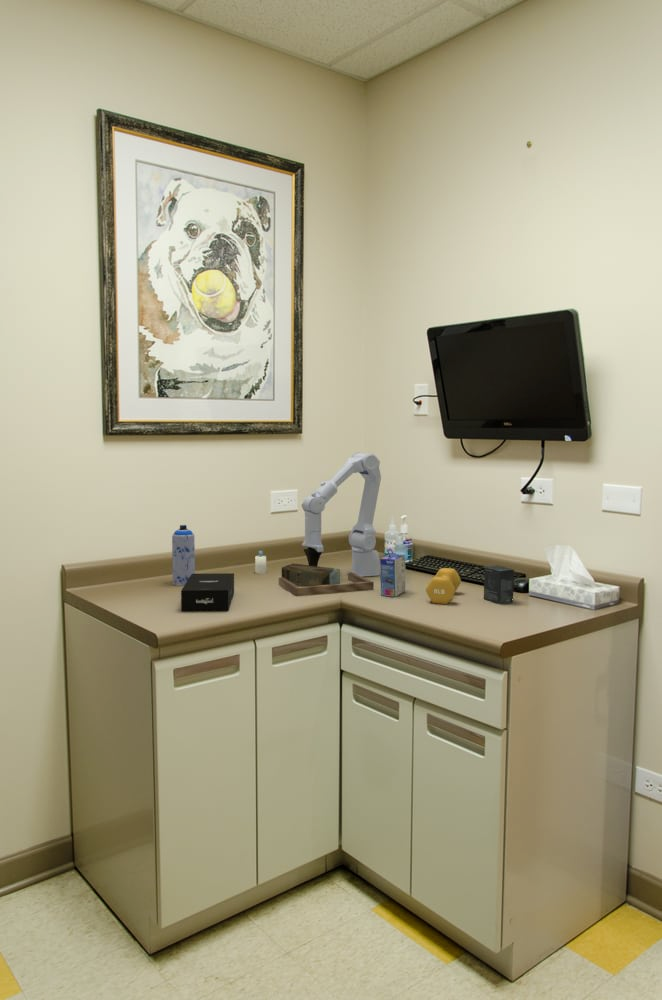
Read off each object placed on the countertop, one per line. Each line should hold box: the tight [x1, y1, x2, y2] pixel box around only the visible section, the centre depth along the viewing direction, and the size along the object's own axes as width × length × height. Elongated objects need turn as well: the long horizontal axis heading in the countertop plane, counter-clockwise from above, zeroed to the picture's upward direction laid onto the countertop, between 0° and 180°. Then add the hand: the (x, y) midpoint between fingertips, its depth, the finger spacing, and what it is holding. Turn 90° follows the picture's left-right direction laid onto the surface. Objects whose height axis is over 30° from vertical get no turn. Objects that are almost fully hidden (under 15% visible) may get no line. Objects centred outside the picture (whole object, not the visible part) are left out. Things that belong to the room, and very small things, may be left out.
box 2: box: [483, 564, 515, 605], centre depth 236 cm, size 8×6×11 cm
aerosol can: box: [171, 524, 196, 587], centre depth 259 cm, size 8×8×20 cm
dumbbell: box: [425, 567, 462, 605], centre depth 240 cm, size 19×9×8 cm, turn 163°
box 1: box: [180, 572, 235, 613], centre depth 234 cm, size 25×14×7 cm, turn 3°
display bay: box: [278, 571, 375, 597], centre depth 255 cm, size 27×18×2 cm, turn 112°
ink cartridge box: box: [379, 548, 406, 598], centre depth 246 cm, size 10×6×14 cm, turn 155°
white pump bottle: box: [254, 550, 267, 575], centre depth 279 cm, size 4×4×8 cm
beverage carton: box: [281, 563, 341, 587], centre depth 259 cm, size 8×19×7 cm, turn 62°
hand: (313, 569), depth 266 cm, fingers closed
